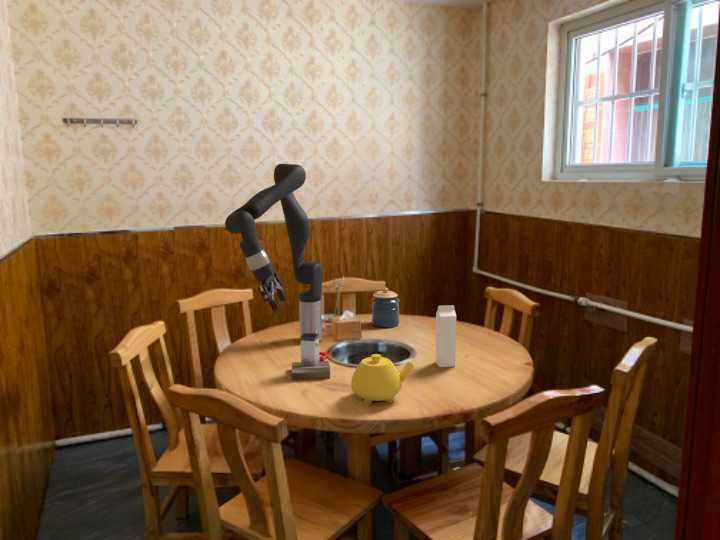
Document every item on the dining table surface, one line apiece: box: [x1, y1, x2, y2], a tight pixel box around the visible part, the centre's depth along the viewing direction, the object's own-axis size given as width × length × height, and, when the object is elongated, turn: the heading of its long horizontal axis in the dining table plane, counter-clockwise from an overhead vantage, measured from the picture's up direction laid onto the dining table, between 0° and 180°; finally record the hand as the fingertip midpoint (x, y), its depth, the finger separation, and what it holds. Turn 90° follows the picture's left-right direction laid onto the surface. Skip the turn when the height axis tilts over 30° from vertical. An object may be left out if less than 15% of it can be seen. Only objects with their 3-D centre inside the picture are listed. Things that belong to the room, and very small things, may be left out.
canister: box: [371, 287, 400, 328], centre depth 254 cm, size 13×13×18 cm
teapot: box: [350, 353, 415, 405], centre depth 170 cm, size 20×16×14 cm
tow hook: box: [314, 327, 330, 361], centre depth 209 cm, size 8×13×9 cm
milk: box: [435, 305, 457, 368], centre depth 198 cm, size 6×6×22 cm
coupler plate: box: [291, 360, 331, 381], centre depth 192 cm, size 11×13×4 cm
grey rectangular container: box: [299, 333, 320, 367], centre depth 192 cm, size 5×5×11 cm
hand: (279, 305), depth 196 cm, fingers open, 8 cm apart
